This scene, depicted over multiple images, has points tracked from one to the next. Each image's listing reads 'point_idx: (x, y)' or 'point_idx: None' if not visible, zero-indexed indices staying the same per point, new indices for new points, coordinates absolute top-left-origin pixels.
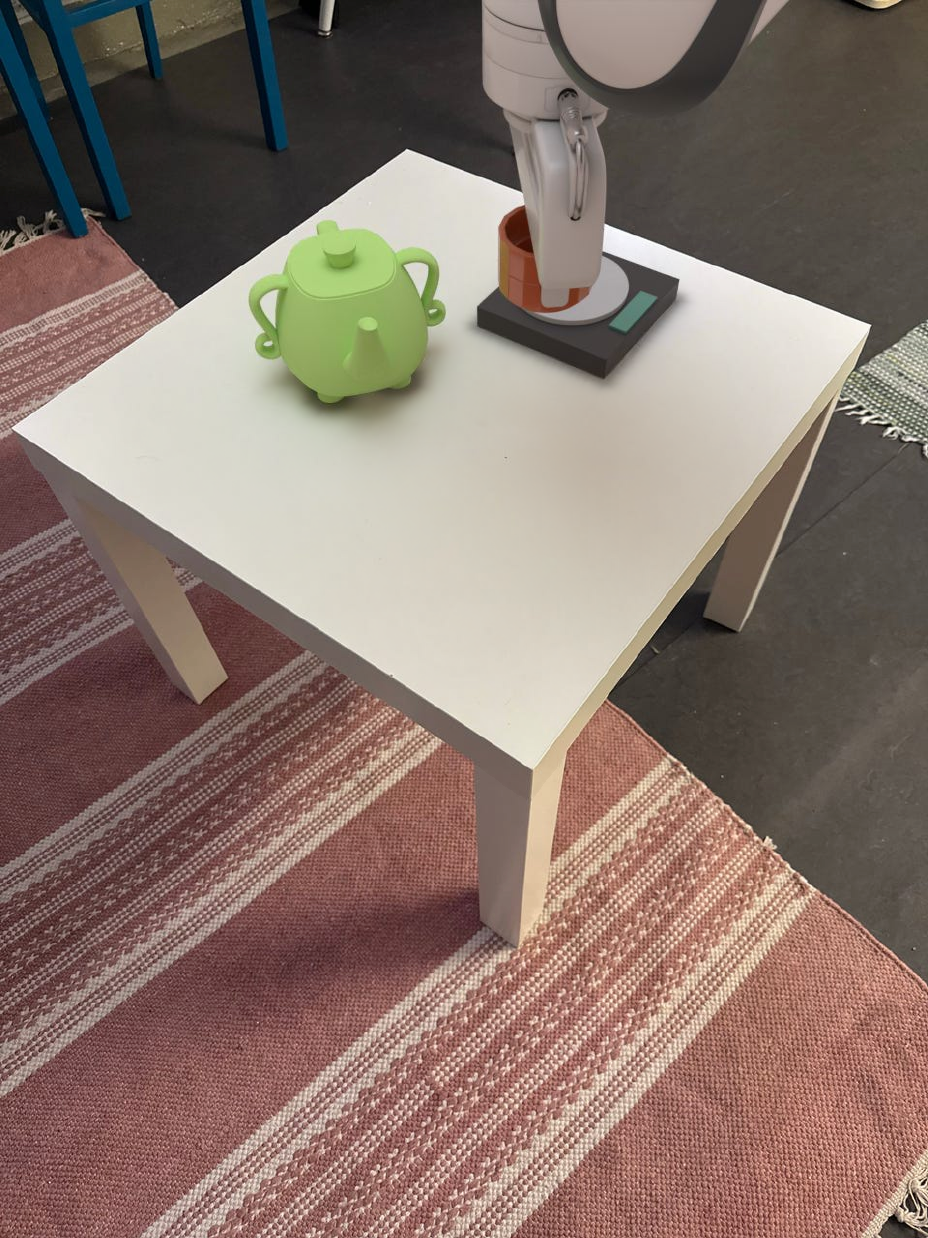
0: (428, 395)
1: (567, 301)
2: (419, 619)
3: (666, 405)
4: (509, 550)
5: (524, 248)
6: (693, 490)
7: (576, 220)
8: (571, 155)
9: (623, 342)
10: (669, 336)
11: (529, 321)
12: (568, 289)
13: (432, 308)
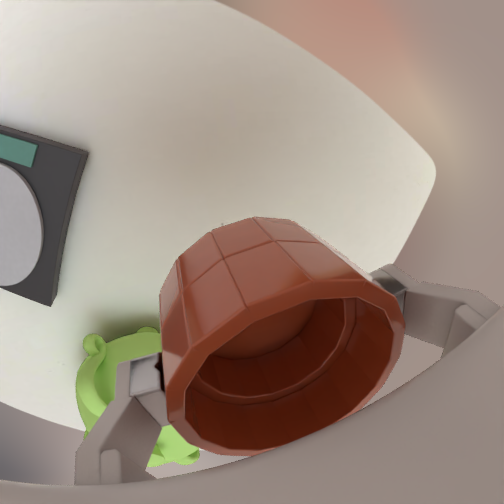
0: (158, 308)
1: (392, 264)
2: (374, 246)
3: (118, 79)
4: (324, 199)
5: (215, 376)
6: (239, 46)
7: (426, 369)
8: None
9: (49, 143)
10: (17, 104)
11: (49, 253)
12: (410, 277)
13: (98, 351)
